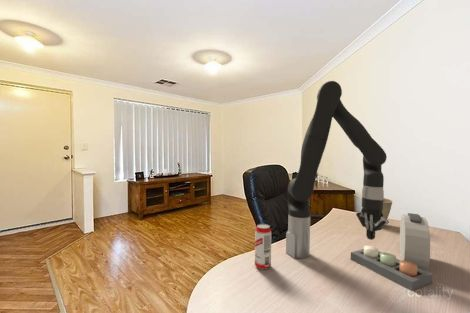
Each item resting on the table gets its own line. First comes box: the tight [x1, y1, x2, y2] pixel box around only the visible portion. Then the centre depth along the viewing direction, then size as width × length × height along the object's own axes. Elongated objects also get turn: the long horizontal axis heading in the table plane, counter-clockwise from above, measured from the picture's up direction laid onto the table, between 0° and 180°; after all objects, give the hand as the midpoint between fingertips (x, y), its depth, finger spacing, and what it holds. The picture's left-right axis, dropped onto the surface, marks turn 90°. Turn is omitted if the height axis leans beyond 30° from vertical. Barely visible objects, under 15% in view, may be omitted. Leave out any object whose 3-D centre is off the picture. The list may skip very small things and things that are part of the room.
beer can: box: [254, 223, 272, 271], centre depth 88 cm, size 6×6×16 cm
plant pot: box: [378, 197, 393, 224], centre depth 139 cm, size 15×15×16 cm
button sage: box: [380, 251, 397, 267], centre depth 87 cm, size 5×5×4 cm
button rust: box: [399, 259, 417, 278], centre depth 81 cm, size 5×5×4 cm
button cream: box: [363, 245, 379, 259], centre depth 93 cm, size 5×5×4 cm
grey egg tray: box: [350, 248, 434, 292], centre depth 87 cm, size 12×23×3 cm, turn 24°
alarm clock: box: [399, 212, 431, 272], centre depth 93 cm, size 21×8×20 cm, turn 148°
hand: (370, 238), depth 93 cm, fingers closed
